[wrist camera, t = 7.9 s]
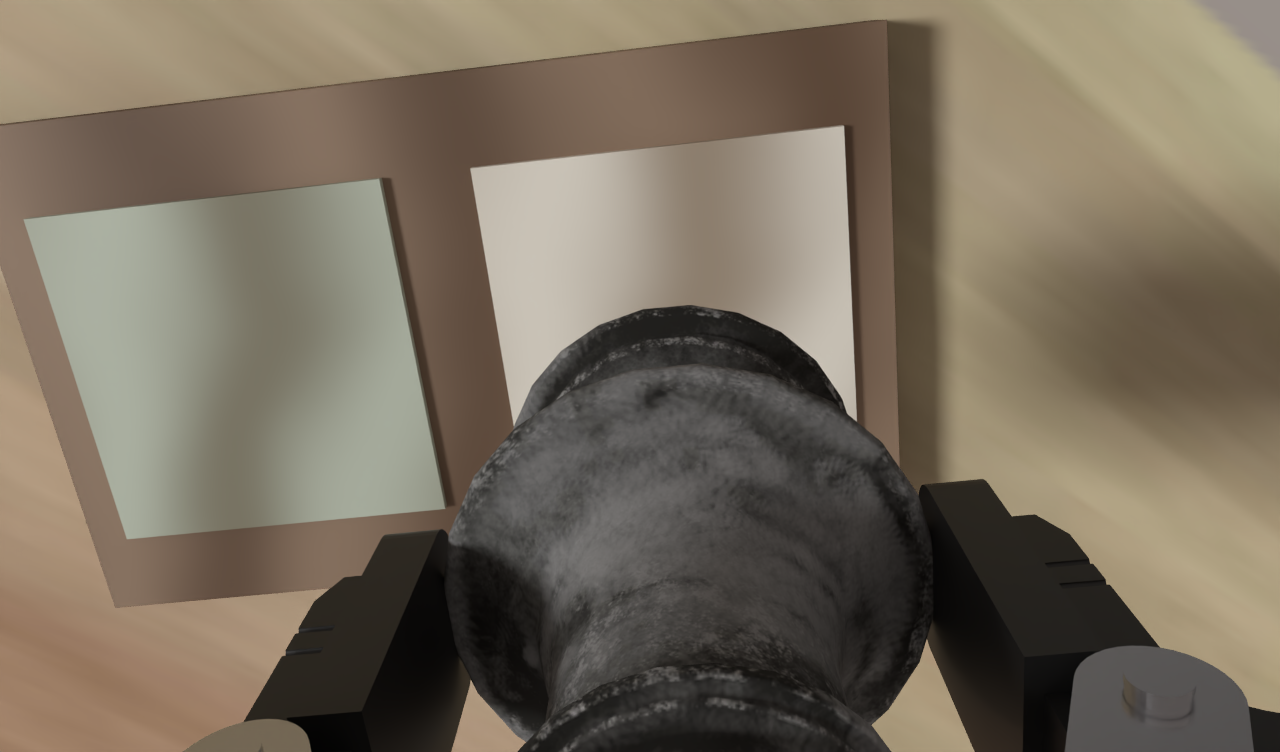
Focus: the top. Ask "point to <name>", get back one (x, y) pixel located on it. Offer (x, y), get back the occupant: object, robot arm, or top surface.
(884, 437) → the board
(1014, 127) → the top surface
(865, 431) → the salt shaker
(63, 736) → the top surface
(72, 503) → the top surface
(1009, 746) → the robot arm
